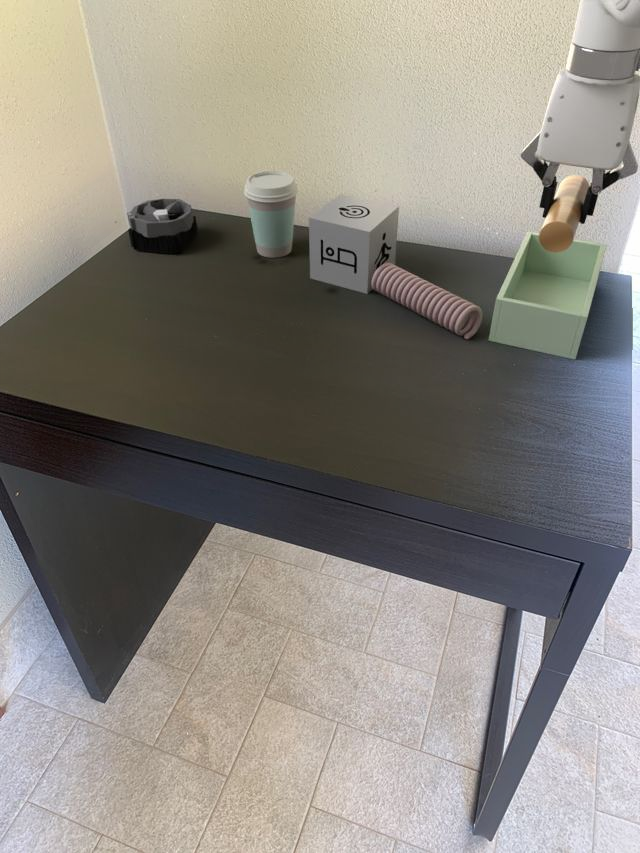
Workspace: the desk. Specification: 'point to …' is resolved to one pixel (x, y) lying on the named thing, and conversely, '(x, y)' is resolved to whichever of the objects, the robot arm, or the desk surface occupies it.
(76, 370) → the desk surface
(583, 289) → the bin
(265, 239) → the coffee cup
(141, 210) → the cpu cooler
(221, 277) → the desk surface
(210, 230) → the desk surface
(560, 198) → the wooden cylinder
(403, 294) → the coil
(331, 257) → the icon cube
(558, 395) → the desk surface
